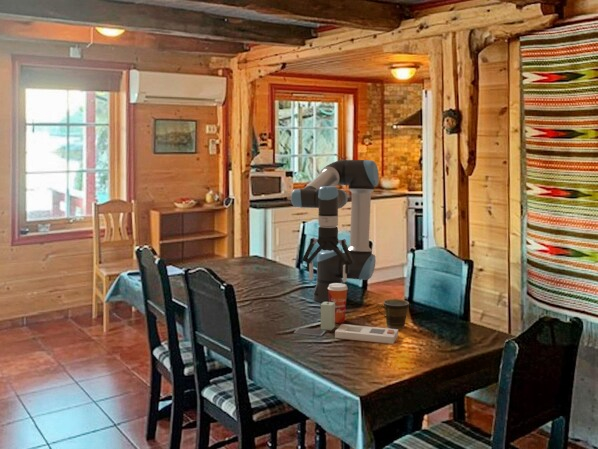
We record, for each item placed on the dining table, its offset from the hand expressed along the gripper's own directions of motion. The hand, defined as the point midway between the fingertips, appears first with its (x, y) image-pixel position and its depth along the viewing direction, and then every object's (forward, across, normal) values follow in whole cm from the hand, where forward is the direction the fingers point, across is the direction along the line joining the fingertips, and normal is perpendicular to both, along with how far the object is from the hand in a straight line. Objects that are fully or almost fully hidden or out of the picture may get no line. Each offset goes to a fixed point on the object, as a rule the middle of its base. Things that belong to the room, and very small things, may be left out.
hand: (327, 280), depth 246 cm
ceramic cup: (+19, +24, +9) cm, 32 cm away
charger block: (+19, 0, 0) cm, 19 cm away
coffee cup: (+19, +1, +11) cm, 22 cm away
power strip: (+19, +17, -6) cm, 26 cm away
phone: (+20, -5, -7) cm, 22 cm away
